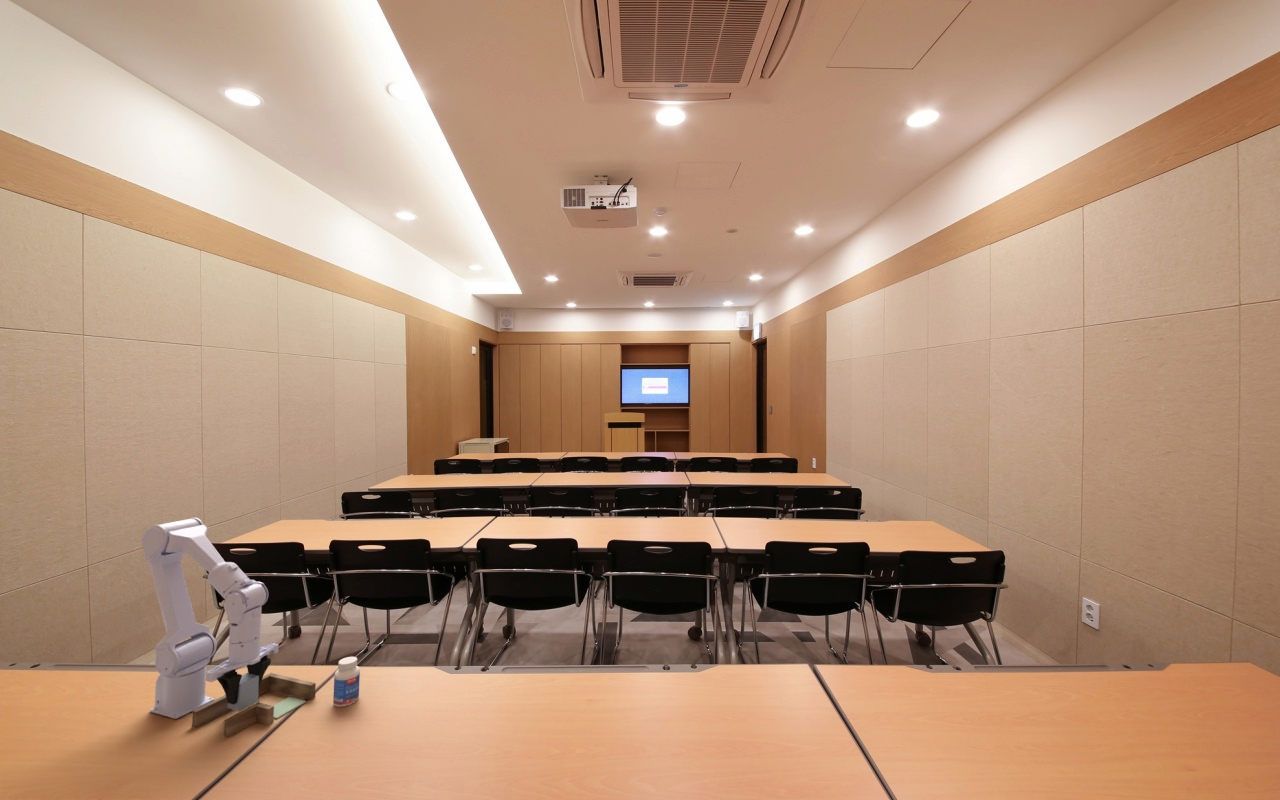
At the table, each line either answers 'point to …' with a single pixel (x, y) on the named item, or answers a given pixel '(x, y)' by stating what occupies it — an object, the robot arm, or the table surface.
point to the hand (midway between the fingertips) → (243, 697)
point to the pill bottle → (346, 682)
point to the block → (246, 692)
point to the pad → (286, 706)
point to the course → (258, 710)
